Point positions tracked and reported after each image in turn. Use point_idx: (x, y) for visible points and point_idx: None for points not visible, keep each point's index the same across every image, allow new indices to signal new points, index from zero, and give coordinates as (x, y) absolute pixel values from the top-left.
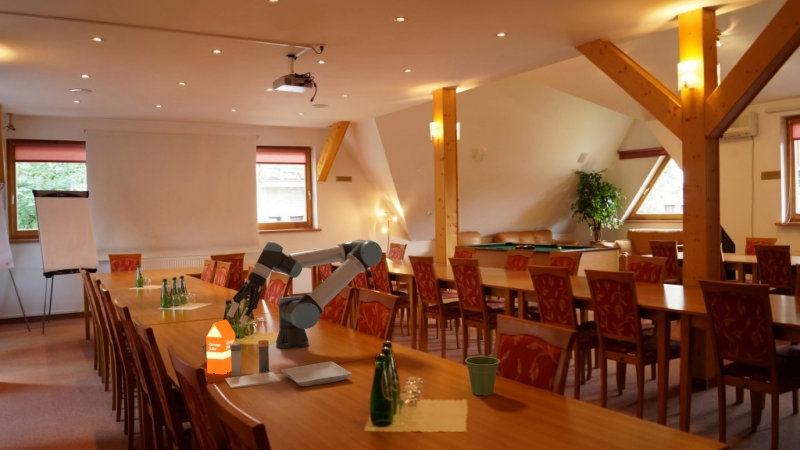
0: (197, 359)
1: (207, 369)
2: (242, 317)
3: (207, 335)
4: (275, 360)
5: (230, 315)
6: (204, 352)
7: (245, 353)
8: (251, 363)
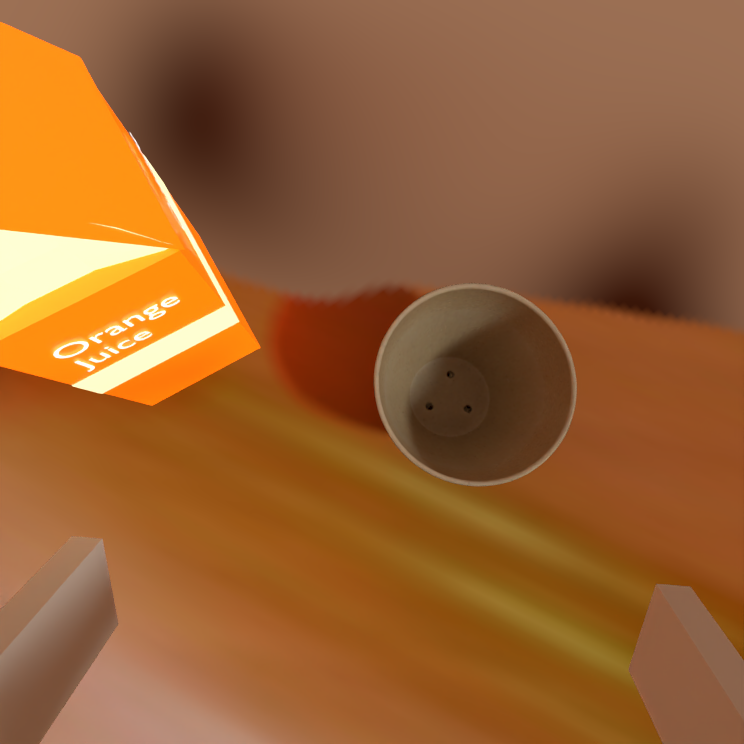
0: (581, 336)
1: (191, 225)
2: (13, 612)
3: (66, 57)
4: (132, 736)
5: (651, 649)
6: (468, 307)
7: (516, 672)
8: (197, 550)
